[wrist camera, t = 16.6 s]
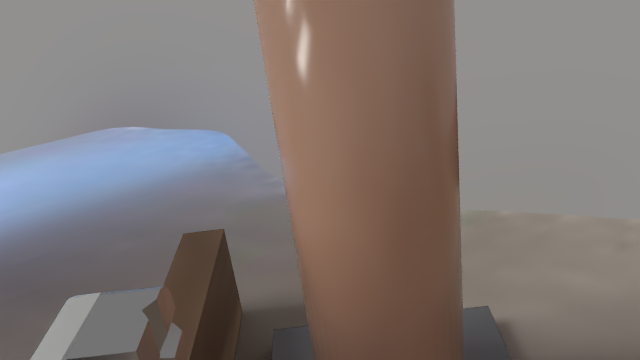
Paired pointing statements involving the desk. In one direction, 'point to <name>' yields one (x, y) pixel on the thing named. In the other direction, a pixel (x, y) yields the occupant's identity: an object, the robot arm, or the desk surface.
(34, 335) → the desk surface
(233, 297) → the bar
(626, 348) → the desk surface
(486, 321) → the rubber mat
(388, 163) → the wooden peg
